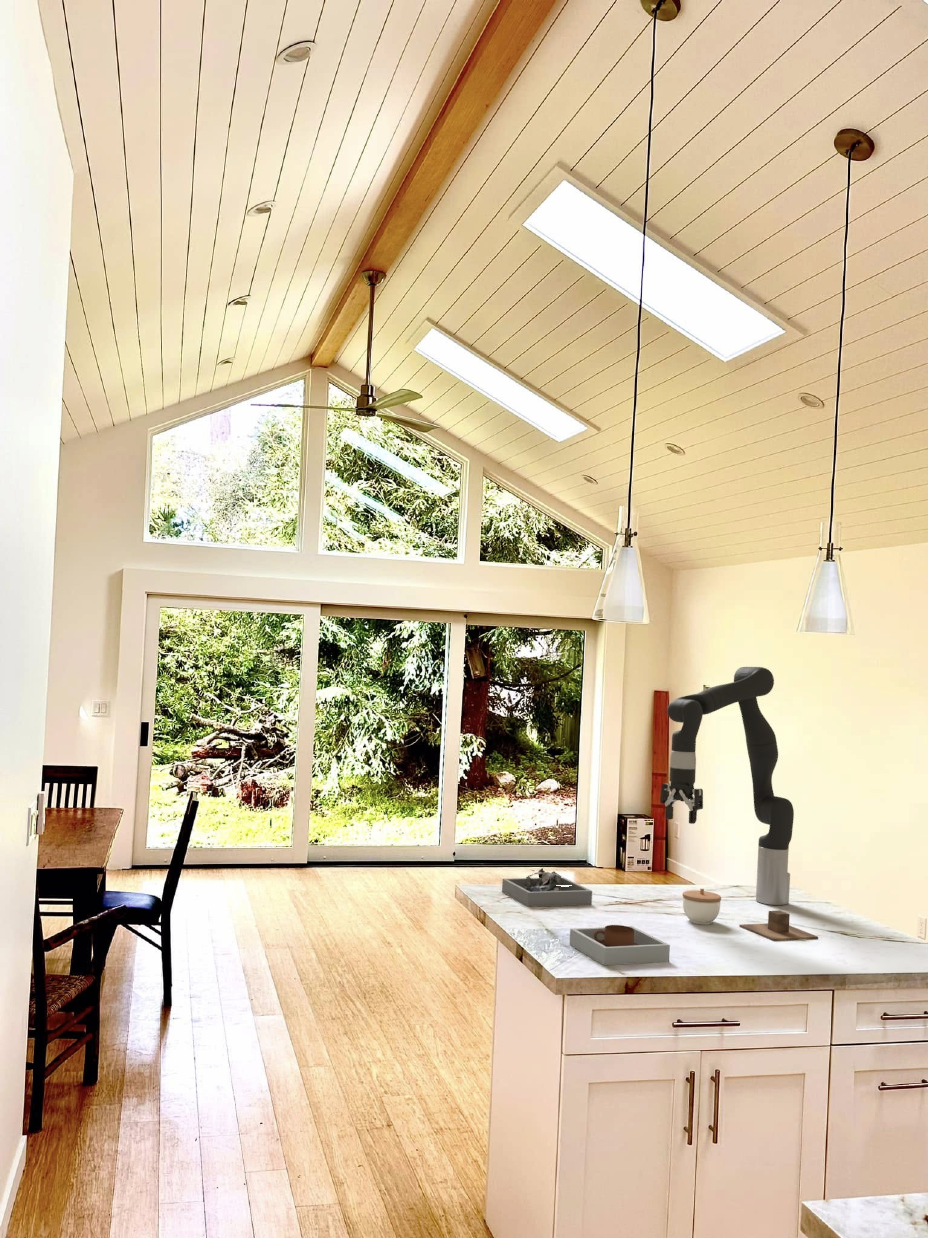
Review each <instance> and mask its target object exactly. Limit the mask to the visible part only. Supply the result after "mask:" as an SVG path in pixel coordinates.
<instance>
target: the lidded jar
mask: <svg viewBox="0 0 928 1238" xmlns="http://www.w3.org/2000/svg"><path fill="white" fill-rule="evenodd" d="M721 901H722V896H721V895H720V894H718V893H715V892H711V891H707V890H706V891H705V889H704V888H702V887H701V888H700V889H699V890H685V891H683V892H682V907H683V912H684V914H685V916H686V917H687V918H688V920H689V922H690V923H692V924H696V925H697V924H698V925H707V926H708V925H712V923H713V922H714V921H715V920H716V919H717V918H718V916H719V913H720V910H721Z"/></svg>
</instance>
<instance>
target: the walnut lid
mask: <svg viewBox="0 0 928 1238" xmlns="http://www.w3.org/2000/svg"><path fill="white" fill-rule="evenodd" d="M790 915H791V914H790V913H788V912H786V911H783V910H768V913H767V918H768V919H767V920H768V921H767V923H746V924H742V923H741V924H739V925H738V927H739V928H741V929H744V930H747V931H748V932H750V933H751V932H752V933H753V934H755V935H757V936H759V937H763V938H765V939H767V940H770V941H772V942H780V941H784V942H785V940H786V941H800V940H799V939H806V940H818V939H819V936H818V935H815V934H814V933H810V932H808V931H805V930H802V929H800V928H797V927H794V926H792V925H790Z"/></svg>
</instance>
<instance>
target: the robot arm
mask: <svg viewBox="0 0 928 1238" xmlns="http://www.w3.org/2000/svg"><path fill="white" fill-rule="evenodd" d="M774 685H775V677H774V675H773V673H772V672H771V671H770V670H769V668H766V667H764V666H763V667H762V666H742V667H739V668H737V669H736V671H735V672H734V675H733V681H732V682H729V683H724V684H719V685H715V686H712V687H709V688H706V689H704V690H701V691H699V692H697V693H693V694H688V695H685V696H680V697H677V698H674V699H673V700H672V701H671V702H670V703H669V704H668V706H667V715H668V717H669V719H670V720H671V721H672V722H676V723H681V724H682V727H681V729H680V730H676V731H673V733H672V737H671V751H670V758H669V776H668V777H669V782H670V783H667V782H666V783H662V784H661V789H660V790H661V791H660V798H659V801H660V803H661V804H663V805H665V819H666V820H673V819H674V804H675V803H676V802H677V801H680V802H682V803H683V802H684V804H685V805H687V807H688V809H689V810H688V824H691V825H693V824H696V822H697V818H698V817H697V816H698V815H697V813H698V811H700V810H703V809H704V790H703V788H695V783H696V771H697V770H696V766H697V756H696V748H697V746H696V745H697V744H696V743H697V736H698V732H699V730H700V726H701V723H702V720H703V716H704V715H705V716H706V715H709V714H712V713H714V712H717V711H718V710H720V709H723V708H725V707H727V706H731V705H733V704H735V703H738V707H739V710H740V714H741V720H742V725H743V729H744V734H745V743H746V749H747V755H748V759H749V760H748V761H749V764H750V765H749V767H750V772H751V781H752V793H753V807H754V808H753V809H754V813H755V816H756V818H757V820H758V821H759V822H761V823H762V824H766V825H769V829H768V833H766V834H765V835H761V836H759V838H758V842H757V843H758V847H757V848H758V850H757V867H756V868H757V869H756V888H755V889H756V892H755V901H756V902H758V903H761V904H765V905H771V906H785V905H787V904H790V890H791V889H790V888H791V887H790V884H791V874H790V872H789V871H788V870H789V868H788V867H789V850H790V849H789V847H790V843H791V840H792V838H793V827H794V818H795V817H794V816H795V810H794V807H793V803H792V802H791V801H790V800H789V798H785V797H780V796H775V793H774V790H773V781H772V780H773V779H772V778H773V774H774V770H775V768H776V766H777V762H778V760H779V749H778V742H777V737H776V734H775V731H774V729H773V728H772V726H771V724H770V723H769V722H768V720H767V719H766V718H765V716H764V714H763V713H762V712H761V709H760V706H759V704H758V697H763V696H766V695H768V694H769V693H770V692H772V690H773V688H774Z"/></svg>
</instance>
